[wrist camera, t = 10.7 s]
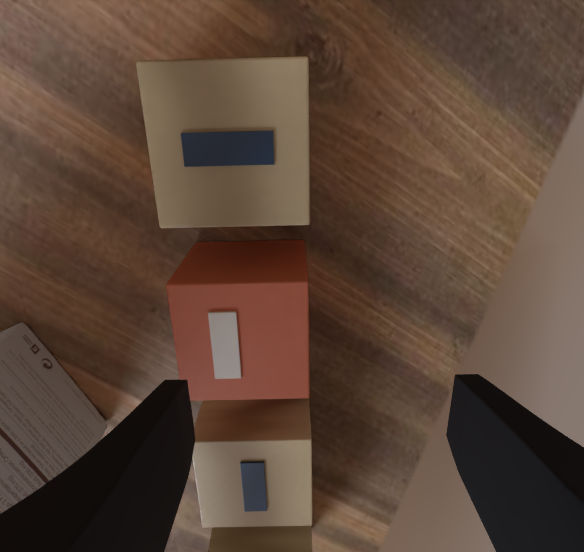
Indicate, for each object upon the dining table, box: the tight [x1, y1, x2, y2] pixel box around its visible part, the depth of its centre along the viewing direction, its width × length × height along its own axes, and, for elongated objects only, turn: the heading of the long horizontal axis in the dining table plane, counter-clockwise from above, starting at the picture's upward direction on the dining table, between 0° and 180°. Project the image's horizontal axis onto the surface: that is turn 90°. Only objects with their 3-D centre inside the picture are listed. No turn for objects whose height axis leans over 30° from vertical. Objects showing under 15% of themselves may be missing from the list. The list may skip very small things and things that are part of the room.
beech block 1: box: [136, 56, 310, 228], centre depth 15 cm, size 5×5×5 cm
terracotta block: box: [166, 240, 310, 401], centre depth 18 cm, size 5×5×5 cm
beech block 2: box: [192, 398, 312, 528], centre depth 21 cm, size 5×5×5 cm
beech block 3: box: [208, 526, 312, 552], centre depth 23 cm, size 5×5×5 cm
